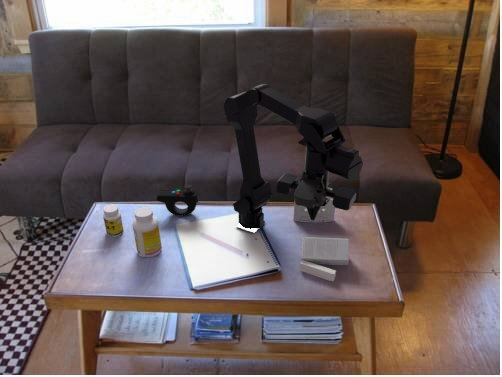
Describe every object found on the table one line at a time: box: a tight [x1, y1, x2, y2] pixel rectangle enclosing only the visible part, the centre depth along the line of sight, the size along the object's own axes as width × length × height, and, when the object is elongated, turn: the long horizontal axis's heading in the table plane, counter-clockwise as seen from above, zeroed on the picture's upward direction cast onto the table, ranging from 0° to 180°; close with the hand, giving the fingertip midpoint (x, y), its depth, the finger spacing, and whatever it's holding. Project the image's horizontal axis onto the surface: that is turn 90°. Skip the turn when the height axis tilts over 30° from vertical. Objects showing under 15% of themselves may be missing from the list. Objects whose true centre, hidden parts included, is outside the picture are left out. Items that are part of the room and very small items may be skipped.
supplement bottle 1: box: [102, 204, 124, 238], centre depth 132 cm, size 5×5×8 cm
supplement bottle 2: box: [132, 206, 162, 258], centre depth 124 cm, size 7×7×13 cm
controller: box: [156, 184, 199, 217], centre depth 139 cm, size 4×12×10 cm, turn 90°
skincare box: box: [301, 236, 350, 266], centre depth 121 cm, size 6×4×12 cm
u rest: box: [299, 259, 337, 282], centre depth 122 cm, size 9×11×2 cm
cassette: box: [292, 199, 336, 223], centre depth 137 cm, size 12×2×8 cm, turn 89°
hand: (313, 219), depth 117 cm, fingers closed
